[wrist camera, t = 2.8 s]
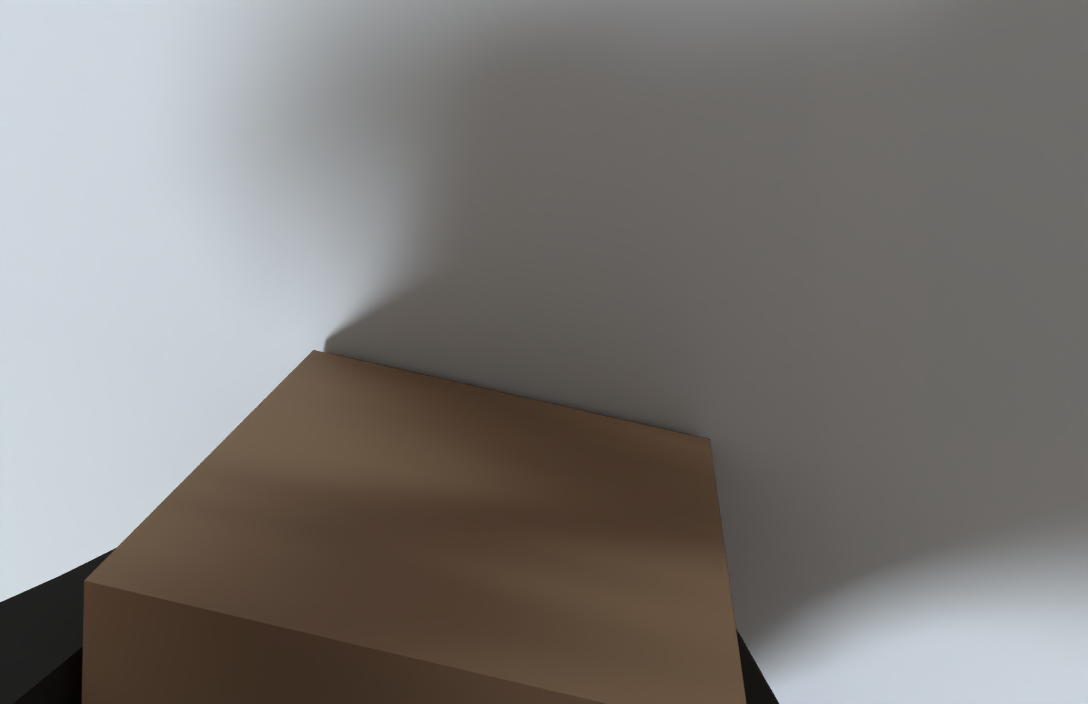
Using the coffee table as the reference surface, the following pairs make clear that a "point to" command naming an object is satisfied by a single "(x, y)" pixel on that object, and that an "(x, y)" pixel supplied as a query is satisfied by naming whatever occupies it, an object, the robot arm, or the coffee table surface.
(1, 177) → the coffee table surface
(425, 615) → the walnut cube
